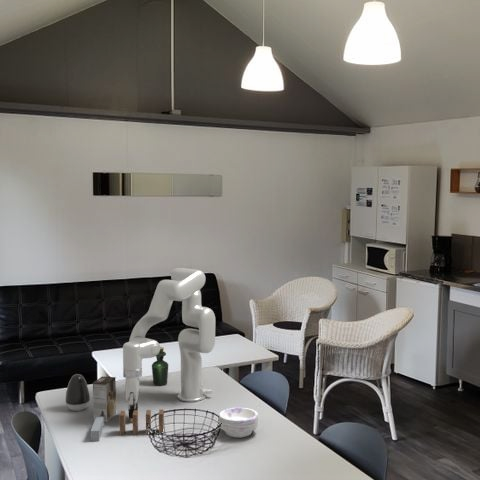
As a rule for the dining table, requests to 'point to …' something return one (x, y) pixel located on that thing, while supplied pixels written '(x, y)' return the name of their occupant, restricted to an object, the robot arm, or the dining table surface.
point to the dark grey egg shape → (77, 393)
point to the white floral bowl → (238, 421)
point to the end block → (97, 428)
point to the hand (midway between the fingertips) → (133, 415)
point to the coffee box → (104, 398)
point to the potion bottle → (160, 369)
